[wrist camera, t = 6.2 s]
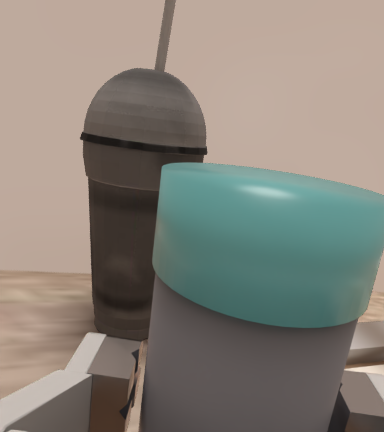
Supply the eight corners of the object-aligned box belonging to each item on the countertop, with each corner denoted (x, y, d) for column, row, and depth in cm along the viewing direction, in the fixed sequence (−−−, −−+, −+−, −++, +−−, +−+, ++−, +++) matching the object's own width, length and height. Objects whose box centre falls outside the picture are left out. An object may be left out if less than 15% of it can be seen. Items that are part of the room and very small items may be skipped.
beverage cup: (145, 286, 28) (173, 11, 23) (206, 332, 23) (259, -11, 18) (54, 308, 23) (63, -32, 18) (105, 373, 18) (138, -79, 13)
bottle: (128, 748, 7) (203, 199, 4) (112, 516, 12) (144, 156, 9) (310, 669, 9) (460, 215, 6) (237, 489, 13) (302, 171, 10)
